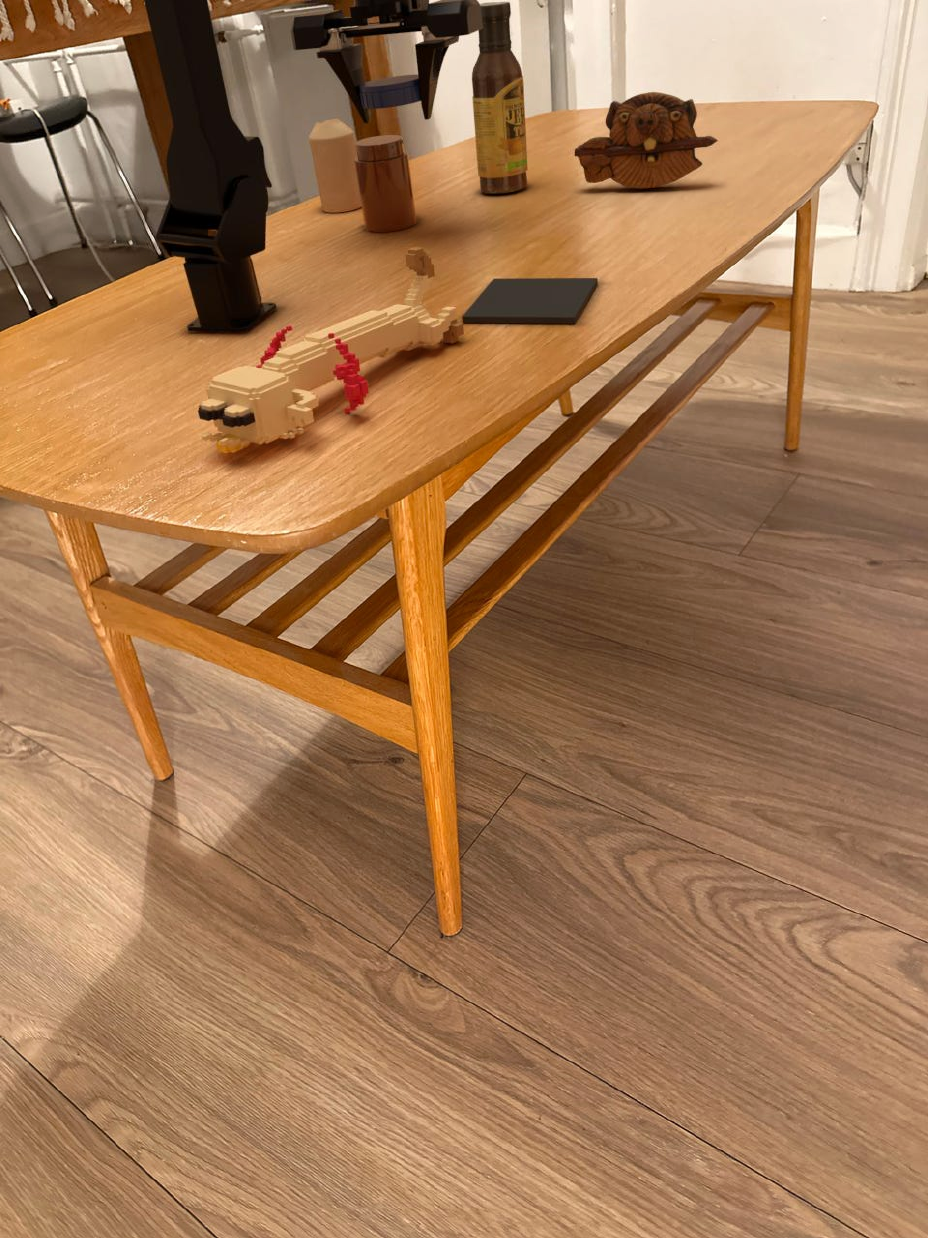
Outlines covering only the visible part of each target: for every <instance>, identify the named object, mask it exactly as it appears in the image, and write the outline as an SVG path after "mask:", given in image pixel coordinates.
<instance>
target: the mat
mask: <svg viewBox="0 0 928 1238" xmlns="http://www.w3.org/2000/svg"><path fill="white" fill-rule="evenodd" d="M598 282H599V278H597V277H545V278H544V277H542V278H541V277H539V278H537V277H533V278H532V277H531V278H529V277H528V278H527V277H526V278H525V277H524V278H523V277H522V278H520V277H519V278H518V277H517V278H514V277H513V278H512V277H511V278H493V279H492V280H491V281H490V282H489V284H488V285H487V286H486V287H485V289H483V291H481V293H480V294H479V296H478V297H477V298H476V299H475V300H474V301H473V303H472V304H471V305H470V306H469V308H468V309H467V310H466V311H465V312H464V313H463V315H462V317H461V319H462V323H463V324H530V325H531V324H533V325H534V324H535V325H536V324H540V325H541V324H543V325H544V324H545V325H550V324H551V325H555V324H556V325H574V324H576V323H577V321H578V319H579V317H580V316H581V314H582V313H583V311H584V309H585V307H586V305H587V303H588V301H589V300H590V298H591V297H592V295H593V293H594V291H595V289H596V288H597V287H598V284H599V283H598Z"/></svg>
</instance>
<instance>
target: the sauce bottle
mask: <svg viewBox="0 0 928 1238" xmlns="http://www.w3.org/2000/svg"><path fill="white" fill-rule="evenodd" d="M479 4H480V7H481V11H482V25H483V29H480V30H478V31H477V32H478V48H479V49H478V50H479V51H478V52H479V54H478V56H477V59H476V61H475V63H474V65H473V68H472V71H471V84H472V97H471V98H472V111H473V124H474V136H475V138H474V139H475V151H476V163H477V165H476V166H477V175H478V177H479V187H480V191H481V192H482V193H484V194H509V193H514V192H517V191H520V190H522V189H524V188H526V186H527V184H528V179H527V171H528V168H529V167H528V150H527V148H528V147H527V131H526V130H527V127H526V108H525V107H526V105H525V87H524V86H525V85H524V83H525V82H524V76H523V71H522V66H521V64H520V62H519V60H518V58H517V57H516V56H515V53H513V51H512V39H511V24H510V18H511V15H512V10H511V9H512V8H511V2H510V1H491V2H489V1H488V2H482V3H481V2H480V3H479Z"/></svg>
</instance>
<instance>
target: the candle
mask: <svg viewBox="0 0 928 1238" xmlns="http://www.w3.org/2000/svg"><path fill="white" fill-rule="evenodd" d="M308 140H309V145H310V151H311V152H310V153H311V157H312V162H313V167H314V173H315V179H316V183H317V189H318V195H319V199H320V200H319V201H320V204H321V205H320V206H321V208H322V211H323V212H326V213H344V212H351V211H354V210H357V209H360V208H362V206H361V199H360V193H359V187H358V181H357V175H356V168H355V162H354V159H355V158H356V157H357V153H356V146H355V143H356V141H355V135H354V130H352V128H350V127H349V125H347V124H345V123H344V122H343V121H341V120H340V119H339V118H333V119H326V120H323V121H322V122H318V121H316V122H315V125H314V127H313V129H312V131H311V133H310V134H309V136H308Z"/></svg>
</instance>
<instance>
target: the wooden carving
mask: <svg viewBox="0 0 928 1238" xmlns="http://www.w3.org/2000/svg"><path fill="white" fill-rule="evenodd" d="M608 107H609V108H608V112H607V114H606V118H605V125H606V127H607V129H608V130H609V134H608V136H595V137H592V138H591V137H590V138H589V139H588V140H586V141H585V142H583V143H581V144H579V145H578V146H577V147H575V148H574V157H575V158H576V157H577V158H578V161H579V164H580V166H581V167H582V169H583V174H584V179H585V182H586V183H589V184H597V183H601V182H604V181H607V180H609V179H611V180H612V181H613V182H615V183H617V184H619V185H621V186H623V187H627V188H633V189H651V188H659V187H662V186H665V185H669V184H670V183H674V182H676V181H678V180H680V179H682V178H684V177H685V176H688V175H690V174H691V173H693V172H694V171H696V170H697V169H699V168H701V166H703V162H702V161H701V160H700V159H699V158H697V157H696V149H699V148H700V149H701V148H708V147H711V146H713V145H715V144H716V143H717V142H718V141H719V140H718V139H717V138H716V137H714V136H712V135H706V136H697V134H696V130H695V128H694V125H695V123H696V120H697V116H698V112H697V107H696V104H695V101H694V99H693V98H690V99H687V100H683V99H681V98H680V97H678V96H676V95H672V94H669V93H665V92H657V91H649V92H643V93H639V94H636V95H634V96H631V97H629V98H627V99H626V100H624V101H623V102H619V101H617V100H613V101H612V102H610V104H609V106H608Z"/></svg>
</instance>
